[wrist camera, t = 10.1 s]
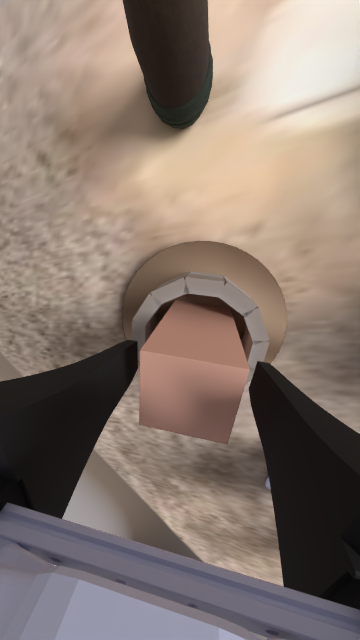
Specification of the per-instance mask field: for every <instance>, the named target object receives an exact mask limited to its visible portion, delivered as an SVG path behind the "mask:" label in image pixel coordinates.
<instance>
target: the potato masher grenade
mask: <svg viewBox="0 0 360 640" xmlns="http://www.w3.org/2000/svg"><path fill="white" fill-rule="evenodd" d="M123 4H124V9H125V14H126V19H127V24H128V29H129V34H130V38H131V42H132V45H133V48H134V51H135V54H136V56H137V59H138V62H139V64H140V67H141V70H142V72H143V75H144V81H145V84H146V90H147V94H148V97H149V100H150V103H151V105H152V107H153V109H154V111H155V113H156V114H157V115H158V117H159V118H160V119H161V120H162V122H164V123H165V124H167V125H169V126H171V127H173V128H182V129H183V128H186V127H188V126H190V125H192V124H193V123H194V122H195V121H196V120H197V119H198V118H199V117H200V115H201V113H202V111H203V110H204V108H205V106H206V104H207V102H208V99H209V95H210V91H211V87H212V78H213V58H212V55H211V47H210V43H209V33H208V0H123Z"/></svg>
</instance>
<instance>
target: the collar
mask: <svg viewBox="0 0 360 640" xmlns="http://www.w3.org/2000/svg"><path fill="white" fill-rule="evenodd" d="M175 300H176V301H184V302H191V303H198V304H206V305H213V306H220V307H227V308H230V309H231V312H232V315H233V318H234V321H235V325H236V328H237V331H238V334H239V337H240V340H241V343H242V346H243V349H244V353H245V356H246V359H247V362H248V365H249V368H250V371H249V374H248V377H247V381H246V384H247V383H248V382H249V381H251V380H252V377H253V374H254V370H255V367H256V364H257V361H260V362H266V363H269V364H271V362H272V361H273V360H274V358H275V357H276V355H277V354H278V352H279V350H280V348H281V346H282V343H283V340H284V337H285V333H286V326H287V310H286V305H285V300H284V297H283V294H282V291H281V289H280V287H279V285H278V283H277V282H276V280H275V278H274V277H273V276H272V274H271V273H270V272H269V270H268V269H267V268H266V267H265V266H264V265H263V264H262V263H261V262H259V261H258V260H257V259H256V258H254V257H253V256H251V255H250V254H248V253H247V252H245V251H242V250H240V249H238V248H236V247H233V246H230V245H227V244H224V243H218V242H212V241H194V242H186V243H182V244H178V245H175V246H172V247H170V248H167V249H165V250H163V251H161V252H160V253H158V254H156V255H155V256H153V257H152V258H151V259H149V260H148V261H147V262H146V263H145V264H144V265H143V266H142V267H141V268H140V269H139V270H138V271H137V273H136V274H135V276H134V277H133V279H132V280H131V282H130V284H129V286H128V288H127V291H126V294H125V297H124V301H123V307H122V322H123V329H124V333H125V337H126V340H133V341H138V361H139V363H140V350H141V348H142V347H143V345H144V344H145V343H146V341H147V340H148V338H149V337H150V335H151V334H152V333H153V331H154V330H155V328H156V327H157V326H158V324H159V323H160V321H161V320H162V318H163V317H164V316H165V314H166V313H167V311H168V310H169V309H170V307H171V306H172V304H173V303H174V302H175ZM246 384H245V385H246Z"/></svg>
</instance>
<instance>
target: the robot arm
mask: <svg viewBox="0 0 360 640" xmlns="http://www.w3.org/2000/svg"><path fill="white" fill-rule="evenodd" d="M137 369H138V341H133V340H126V341H124V342H122V343H119V344H117V345H115V346H113V347H111V348H109V349H107V350H105V351H102V352H100V353H98V354H96V355H93V356H91V357H88V358H86V359H84V360H81V361H79V362H76V363H73V364H70V365H67V366H64V367H61V368H57V369H54V370H50V371H46V372H43V373H39V374H35V375H31V376H26V377H22V378H17V379H12V380H6V381H1V382H0V640H260V639H259V638H257V637H256V636H255V635H253V634H252V633H251V632H253V633H256V634H259V635H262V636H265V637H267V640H360V434H359V433H357V432H356V431H354V430H353V429H351V428H350V427H348V426H347V425H345V424H344V423H342V422H341V421H339V420H338V419H337V418H335V417H334V416H332V415H331V414H330V413H328V412H327V411H325V410H324V409H323V408H321V407H320V406H319V405H317V404H316V403H315V402H314V401H312V400H311V399H310V398H309V397H307V396H306V395H305V394H304V393H303V392H301V391H300V390H299V389H298V388H297V387H296V386H294V385H293V384H292V383H291V382H290V381H289V380H288V379H287V378H285V377H284V376H283V375H282V374H281V373H280V372H279V371H278V370H277V369H275V368H274V367H273V366H272V365H271V364H269V363H266V362H260V361H257V364H256V367H255V370H254V374H253V377H252V380H251V384H250V387H249V394H250V401H251V407H252V410H253V414H254V418H255V421H256V425H257V428H258V432H259V436H260V439H261V443H262V446H263V450H264V455H265V459H266V465H267V470H268V478H267V480H266V482H265V485H266V487H267V488H268V489H271V494H272V500H273V506H274V513H275V520H276V527H277V534H278V542H279V550H280V558H281V567H282V575H283V584H284V587H283V586H279V585H276V584H273V583H270V582H266V581H263V580H260V579H257V578H253V577H250V576H247V575H243V574H240V573H237V572H234V571H230V570H227V569H224V568H220V567H217V566H214V565H211V564H207V563H204V562H201V561H197V560H194V559H191V558H188V557H184V556H181V555H178V554H174V553H171V552H168V551H165V550H161V549H158V548H155V547H152V546H148V545H145V544H142V543H138V542H135V541H132V540H129V539H125V538H122V537H119V536H116V535H112V534H109V533H106V532H102V531H99V530H96V529H93V528H89V527H86V526H83V525H80V524H76V523H73V522H70V521H66V520H63V519H62V517H63V515H64V513H65V510H66V508H67V506H68V503H69V501H70V499H71V496H72V494H73V491H74V489H75V487H76V485H77V482H78V480H79V478H80V476H81V474H82V471H83V469H84V467H85V465H86V463H87V460H88V459H89V456H90V454H91V452H92V450H93V448H94V446H95V444H96V442H97V440H98V438H99V436H100V434H101V432H102V430H103V428H104V426H105V424H106V422H107V420H108V419H109V417H110V415H111V414H112V412H113V410H114V409H115V407H116V406H117V404H118V403H119V401H120V399H121V398H122V396H123V395H124V393H125V392H126V390H127V388H128V387H129V385H130V384H131V382H132V380H133V378H134V375H135V373H136V371H137ZM50 563H51V564H50ZM52 564H54V565H57V566H53V565H52ZM250 631H251V632H250Z"/></svg>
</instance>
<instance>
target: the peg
mask: <svg viewBox="0 0 360 640" xmlns="http://www.w3.org/2000/svg"><path fill="white" fill-rule="evenodd" d="M249 371H250V368H249V365H248V362H247V359H246V356H245V353H244V349H243V346H242V343H241V340H240V337H239V334H238V331H237V328H236V325H235V321H234V318H233V315H232V312H231V309H230V308H227V307H220V306H213V305H206V304H198V303H191V302H184V301H176V300H175V302H174V303H173V304H172V306H171V307H170V309H169V310H168V311H167V313H166V314H165V316H164V317H163V318H162V320H161V321H160V323H159V324H158V326H157V327H156V328H155V330H154V331H153V333H152V334H151V335H150V337H149V338H148V340H147V341H146V343H145V344H144V345H143V347H142V348H141V350H140V408H139V425H143V426H147V427H152V428H156V429H161V430H165V431H170V432H174V433H179V434H183V435H188V436H192V437H196V438H201V439H205V440H210V441H214V442H219V443H223V444H228V441H229V438H230V434H231V431H232V428H233V424H234V421H235V418H236V414H237V411H238V408H239V404H240V401H241V398H242V394H243V391H244V388H245V384H246V381H247V377H248V374H249Z"/></svg>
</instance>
